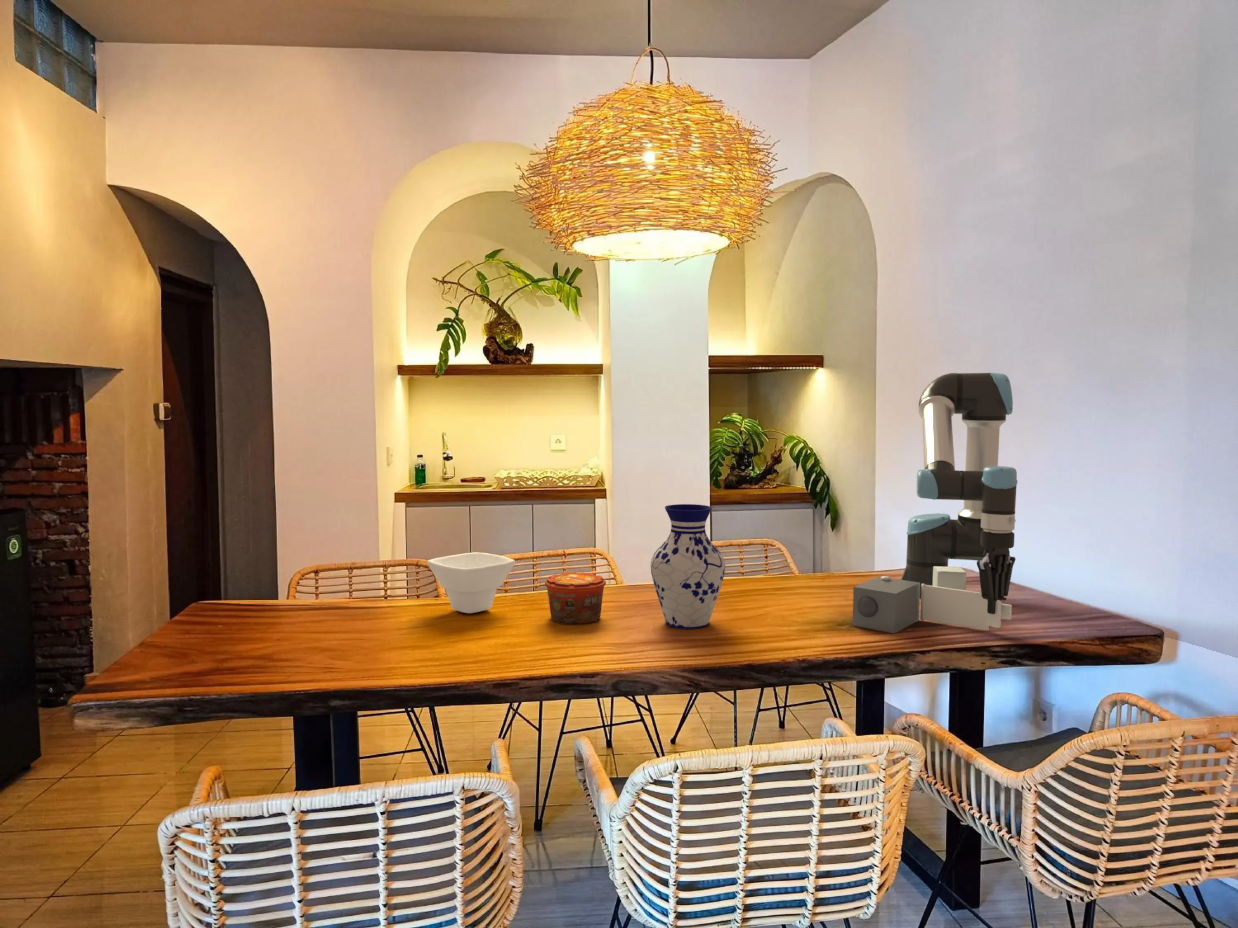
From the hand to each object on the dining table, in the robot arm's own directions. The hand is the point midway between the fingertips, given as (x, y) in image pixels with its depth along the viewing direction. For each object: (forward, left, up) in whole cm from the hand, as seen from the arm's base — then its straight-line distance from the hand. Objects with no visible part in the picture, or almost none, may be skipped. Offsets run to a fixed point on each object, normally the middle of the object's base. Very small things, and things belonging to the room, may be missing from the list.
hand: (993, 626), depth 209 cm
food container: (+55, -88, -3) cm, 104 cm away
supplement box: (-12, -15, -3) cm, 20 cm away
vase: (+40, -63, -3) cm, 75 cm away
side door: (-3, -8, -2) cm, 9 cm away
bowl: (+68, -114, -3) cm, 133 cm away
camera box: (+6, -25, -2) cm, 25 cm away
